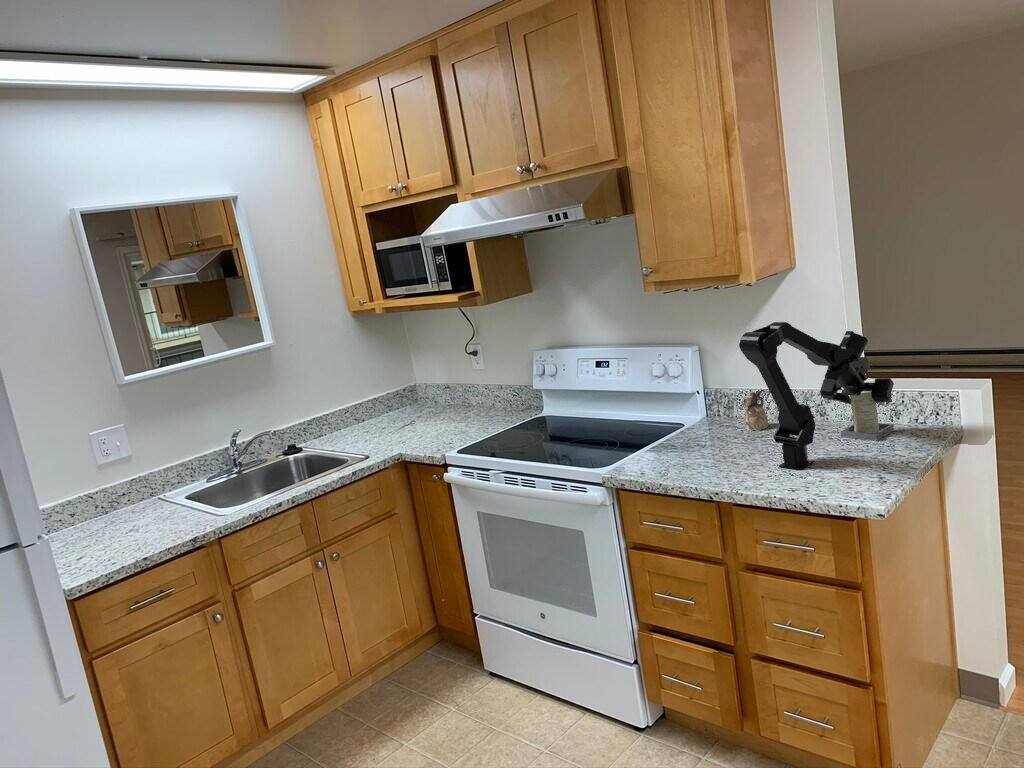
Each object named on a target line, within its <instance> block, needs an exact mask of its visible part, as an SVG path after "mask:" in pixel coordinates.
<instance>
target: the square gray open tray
mask: <svg viewBox="0 0 1024 768" xmlns="http://www.w3.org/2000/svg"><path fill="white" fill-rule="evenodd" d="M878 424H879V432H877V433H863V432H855V430H854V423H853V424H851V425H850V426H848V427H846V428H844V429H843V430H840V438H841V437H847V438H846V439H852V438H858V439H857V440H864V439H869V440H868V441H875V440H877V441H879V440H881V439H883V438H884V437H886V436H887V435H890V432H891V433H892V432H894V431H895V427H894V423H879V422H878ZM885 435H886V436H885ZM883 436H884V437H883ZM880 438H881V439H880Z"/></svg>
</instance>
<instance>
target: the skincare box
mask: <svg viewBox="0 0 1024 768" xmlns="http://www.w3.org/2000/svg"><path fill="white" fill-rule="evenodd" d="M871 392H872V391H862V392H861V394H860V395H849V397H850V398H851V404H850V406H851V413H852V419H853V424H854V430H855V432H863V433H877V432H879V424H878V423H879V418H878V417H879V415H878V409H877V403H876V402H874V399H873V398H872V396H871Z"/></svg>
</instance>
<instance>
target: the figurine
mask: <svg viewBox="0 0 1024 768" xmlns="http://www.w3.org/2000/svg"><path fill="white" fill-rule="evenodd" d="M761 394H762V391H761V390H758V391H757V392H756V393H755V391H753V390H752V391H749V392H748V393H747V395H745V401H744V403H743V405H744V408H745V411H746V412H745V423H744V426H745V427H744V430H745V429H747V430H746V431H748V430H760V431H762V430H761V429H764V430H766V429H768V428H767V427H769V420H768V416H767V413H766V411H765V409H764V404H765V403H764V400H763V398H762V396H761ZM759 401H760V403H759ZM765 428H766V429H765Z"/></svg>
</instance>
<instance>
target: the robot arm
mask: <svg viewBox="0 0 1024 768" xmlns="http://www.w3.org/2000/svg"><path fill="white" fill-rule="evenodd" d="M739 341H740V342H739V343H738V347H739V350H740V352H741V353H742V354H743V356H744V357H745V358H746V359H747V360H748V361H749V362H751V364H753V365H755V367H756V368H757V369H758V371H759V373H760V375H761V378H762V379H763V381H764V383H765V384H766V387H767V389H768V392H769V393H770V395H771V397H772V399H773V401H774V403H775V404H776V407H777V408H778V415H777V420H778V425H777V428H776V429H775V432H774V434H773V437H772V438H773V439H774V443H776V444H778V443H779V444H782V445H781V448H782V449H781V450H782V457H783V462H781V463H780V464H779V465H778V467H779V468H785V469H792V470H801V471H802V470H803V469H805V468H807V467H808V466H810V465H812V464H813V463H814V460H812V459H811V460H810V459H809V456H808V448H807V447H808V445H811V444H813V441H814V437H815V430H816V422H815V418H816V416H815V415H814V414H813V413H812V410H811V407H810V406H809V405H808V404H807V405H806V404H799V403H798V401H797V399H796V397H795V394H794V393H793V390H792V389H791V386H790V385H789V383H788V381H787V379H786V377H785V375H784V373H783V371H782V369H781V366H780V364H779V362H778V361H777V355H778V347H780V346H781V345H782V344H783V343H785V344H787V345H789V346H791V347H792V348H795V349H797V350H798V351H800V352H802V353H804V354H805V355H806V357H807V359H808V360H809V361H810V362H812V363H813V364H814V365H815V366H821V367H822V366H823V367H827V369H826V372H825V374H824V378H823V380H822V383H821V387H820V390H819V395H820V396H821V397H822V399H824V400H825V399H827V400H828V401H829V400H830V401H834V402H838V403H843V404H848V405H851V397H850V395H860V394H861V392H862V391H872V392H871V396H872V398H873V399H874V402H876V404H878V405H879V406H882V407H884V406H885V404H886V402H887V401H889V400H890V397H891V395H892V391H893V388H894V384H895V383H894V381H893V379H892V378H890V377H876V378H874V381H873V382H869V381H867V380H868V375H867V373H868V372H869V370H870V368H871V365H870V363H869V359H868V357H867V356H862V355H863V353H864V351H865V349H866V347H867V345H868V344H869V339H867V337H865V336H863V335H861V334H859V333H856V332H855V331H853V330H846V331H845V332H844V335H843V338H842V340H841V341H840V344H835V343H832V342H827V341H821V340H819V339H816V338H814V337H813V336H811V335H809V334H807V333H806V332H804V331H802V330H801V329H798V328H796V327H794V326H793V325H792V324H791V323H789V322H786V321H774V322H772V323H770V324H768V325H766V326H763V327H760V328H757V329H755V330H752V331H747V332H745V333H743V334H742V336H741V337H740V340H739ZM866 381H867V382H866Z"/></svg>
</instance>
